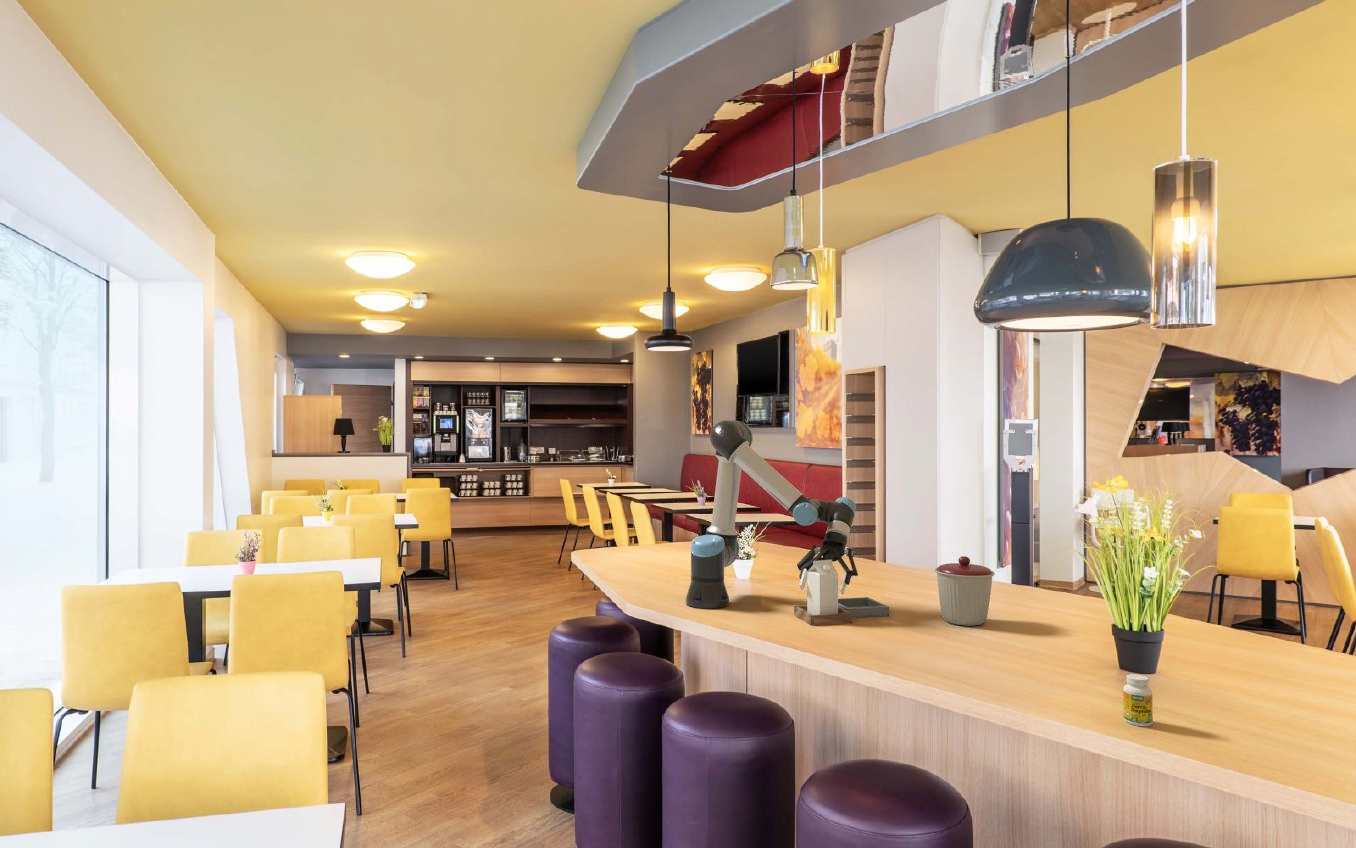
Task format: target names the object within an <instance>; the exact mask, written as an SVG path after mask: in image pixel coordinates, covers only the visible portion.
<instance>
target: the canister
mask: <svg viewBox="0 0 1356 848" xmlns="http://www.w3.org/2000/svg"><path fill="white" fill-rule="evenodd" d="M957 561H958V562H957V563H956V562H955V563H951V562H950V563H944V564H941V565H939V566H938V567H935V568H934V572H935V573H936V580H937V589H938V599H939V605H940V612H941V616H942V618H943V619H944V621H945V622H947V623H950V624H953V625H956V624H957V626H963V627H964V626H966V627H967V626H968V627H972V626H973V627H975V626H981V625H984V624H985V623H986V620H987V618H988V615H989V609H990V601H991V592H992V585H993V584H992V583H993V577H994V576H995V571H993V570H992V569H990V568H989V567H987V566H984V565H980V564H973V563H971V559H970V557H968V556H966V555H965V556H960V557H958V560H957Z"/></svg>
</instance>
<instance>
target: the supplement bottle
mask: <svg viewBox="0 0 1356 848" xmlns="http://www.w3.org/2000/svg"><path fill="white" fill-rule="evenodd" d="M1125 682H1126V683H1127V684H1125V685H1124V686H1123V687H1122V688H1123V689H1122V693H1123V694H1122V696H1123V700H1122V701H1123V704H1122V705H1123V706H1122V707H1123V710H1122V711H1123V714H1122V715H1123V720H1124V722H1125V723H1127V724H1128V725H1132V726H1135V727H1136V726H1137V727H1142V728H1143V727H1150V726H1152V725H1153V721H1154V719H1153V718H1154V717H1153V716H1154V715H1153V691H1152V689H1151V688H1150V687H1149V677H1147V676H1145V675H1141V674H1136V673H1134V674H1131V673H1130V674H1127V675H1126V681H1125Z"/></svg>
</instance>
